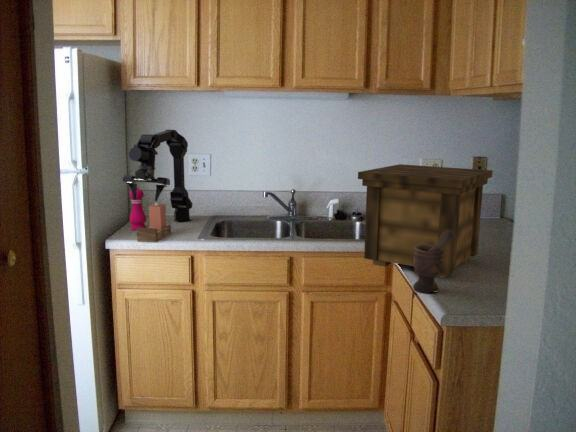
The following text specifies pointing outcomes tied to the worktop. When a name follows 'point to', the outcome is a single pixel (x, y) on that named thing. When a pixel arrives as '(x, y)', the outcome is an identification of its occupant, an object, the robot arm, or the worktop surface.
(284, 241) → the worktop surface
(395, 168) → the crate
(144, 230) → the brown wooden box
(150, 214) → the salmon orange block
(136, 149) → the robot arm
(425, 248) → the mortar and pestle
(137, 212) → the pepper mill
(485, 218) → the worktop surface
